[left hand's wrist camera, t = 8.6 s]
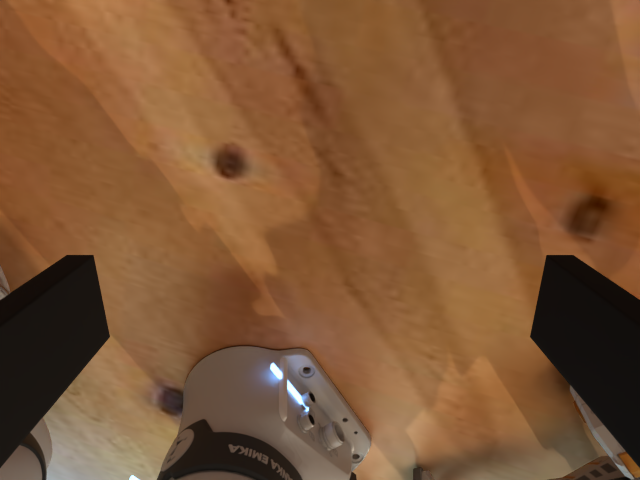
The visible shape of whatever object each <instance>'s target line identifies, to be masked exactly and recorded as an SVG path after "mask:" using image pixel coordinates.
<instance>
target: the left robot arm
mask: <svg viewBox="0 0 640 480" xmlns="http://www.w3.org/2000/svg"><path fill="white" fill-rule="evenodd" d="M109 337H110V335H109V330H108V325H107V320H106V315H105V310H104V305H103V301H102V296H101V291H100V286H99V281H98V276H97V271H96V266H95V261H94V256H93V255H66V256H65V257H63V258H62V259H60V260H59V261H57V262H56V263H55V264H53V265H52V266H50V267H49V268H47V269H46V270H44V271H43V272H41V273H40V274H38V275H37V276H35V277H34V278H32V279H31V280H29V281H28V282H26V283H25V284H23V285H22V286H20V287H19V288H17V289H16V290H14V291H13V292H11V293H10V294H8V295H7V296H5V297H4V298H2V299H1V300H0V468H1V467H2V466H3V464H4V463H5V462H6V461H7V460H8V458H9V457H10V456H11V455H12V454H13V452H14V451H15V450H16V449H17V448H18V446H19V445H20V444H21V443H22V442H23V440H24V439H25V438H26V437H27V436H28V434H29V433H30V432H31V431H32V430H33V428H34V427H35V426H36V425H37V424H38V422H39V421H40V420H41V419H42V418H43V416H44V415H45V414H46V413H47V412H48V410H49V409H50V408H51V407H52V406H53V404H54V403H55V402H56V401H57V400H58V398H59V397H60V396H61V395H62V394H63V392H64V391H65V390H66V389H67V388H68V386H69V385H70V384H71V383H72V382H73V380H74V379H75V378H76V377H77V376H78V374H79V373H80V372H81V371H82V370H83V368H84V367H85V366H86V365H87V364H88V362H89V361H90V360H91V359H92V358H93V356H94V355H95V354H96V353H97V352H98V350H99V349H100V348H101V347H102V346H103V344H104V343H105V342H106V341H107V340H108V338H109ZM530 337H531V338H532V340H533V341H534V342H535V343H536V344H537V346H538V347H539V348H540V349H541V350H542V352H543V353H544V354H545V355H546V356H547V358H548V359H549V360H550V361H551V362H552V364H553V365H554V366H555V367H556V368H557V370H558V371H559V372H560V373H561V374H562V376H563V377H564V378H565V379H566V380H567V382H568V383H569V384H570V385H571V386H572V388H573V389H574V390H575V391H576V392H577V394H578V395H579V396H580V397H581V398H582V400H583V401H584V402H585V403H586V404H587V406H588V407H589V408H590V409H591V410H592V412H593V413H594V414H595V415H596V416H597V418H598V419H599V420H600V421H601V422H602V424H603V425H604V426H605V427H606V428H607V430H608V431H609V432H610V433H611V434H612V436H613V437H614V438H615V439H616V440H617V442H618V443H619V444H620V445H621V446H622V448H623V449H624V450H625V451H626V452H627V454H628V455H629V456H630V457H631V458H632V460H633V461H634V462H635V463H636V464H637V466H638V467H639V468H640V300H639V299H638V298H636V297H635V296H633V295H632V294H630V293H629V292H627V291H626V290H624V289H623V288H621V287H620V286H618V285H617V284H615V283H614V282H612V281H611V280H609V279H608V278H606V277H605V276H603V275H602V274H600V273H599V272H597V271H596V270H594V269H593V268H591V267H590V266H588V265H587V264H585V263H584V262H583V261H581V260H580V259H578V258H577V257H575V256H574V255H547V256H546V261H545V266H544V271H543V276H542V281H541V286H540V291H539V296H538V301H537V305H536V310H535V315H534V320H533V325H532V330H531V335H530Z"/></svg>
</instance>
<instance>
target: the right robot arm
mask: <svg viewBox="0 0 640 480" xmlns="http://www.w3.org/2000/svg"><path fill="white" fill-rule="evenodd" d="M8 294H10V288H9V285H8V282H7V279H6V277H5V274H4V272H3V270H2V268H1V265H0V300H1V299H2V298H4V297H5V296H7V295H8ZM304 367H309V368H310V369H304ZM183 398H184V401H183V412H182V417H181V422H180V427H179V431H178V435H177V437H176V439H175V440H174V442H173V444H172V445H171V447H170V449H169V451H168V453H167V455H166V457H165V459H164V461H163V464H162V467H161V471H160V473H159V476H158V478H157V480H356V474H354V473H353V472H352V471H353V470H354V469H355V468H356V467H357V466H358V465H359V464H360V463H361V462H362V461H363V460H364V458H365V457H366V455H367V453H368V451H369V449H370V446H371V436H370V434H369V432H368V431H367V430H366V428H365V427H364V425H363V424H362V423H361V421H360V420H359V419H358V417H357V416H356V414H355V413H354V412H353V410H352V409H351V408H350V406H349V405H348V403H347V402H346V401H345V399H344V398H343V396H342V395H341V394H340V392H339V391H338V390H337V388H336V387H335V385H334V384H333V383H332V381H331V380H330V379H329V377H328V376H327V374H326V373H325V372H324V370H323V369H322V367H321V366H320V365H319V363H318V362H317V361H316V359H315V358H314V356H313V355H312V354H311V353H310V352H309V351H308V350H306V349H301V348H296V349H287V350H281V351H277V350H270V349H265V348H260V347H253V346H237V347H230V348H226V349H222V350H219V351H216V352H214V353H212V354H210V355H208V356H207V357H205V358H204V359H202V360H201V361H200V362H199V363H198V364H197V365H196V366H195V367H194V368H193V369H192V370H191V372H190V374H189V375H188V377H187V380H186V382H185V386H184V393H183ZM51 457H52V442H51V437H50V433H49V430H48V428H47V425H46V423H45V421H44V419H43V418H42V419H41V420H40V421H39V422H38V424H37V425H36V426H35V427H34V428H33V430H32V431H31V432H30V433H29V434H28V436H27V437H26V438H25V439H24V440H23V442H22V443H21V444H20V445H19V446H18V448H17V449H16V450H15V451H14V452H13V454H12V455H11V456H10V457H9V458H8V460H7V461H6V462H5V463H4V464H3V466H2V467H1V468H0V480H46V473H47V472H46V469H47V468H48V466H49V463H50V461H51ZM129 480H139V479H137V478H136V477H134V476H133V475H132V476H131V477H130V479H129Z"/></svg>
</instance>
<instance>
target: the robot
mask: <svg viewBox="0 0 640 480" xmlns="http://www.w3.org/2000/svg"><path fill="white" fill-rule="evenodd" d="M570 392H571V394H572V396H573V398H574V402H573V403H574V405H575V407H576V409H577V412H578V413H579V415H580V416H581V418H582V419H583V421H584V422H585V423H587V425H588V427H589V429H590V431H591V433H592V435H593V436H594V437H595V438H596V440H597V441H598V442H599V444H600V445H601V446H602V447H603V449H604V450H605V451H606V453H607V454H608V455H609V456H601V457H599V458H597V459H595V460H593V461H592V462H590V463H588V464H586V465H584V466H583V467H581V468H579V469H577V470H575V471H574V472H572V473H570V474H568V475H566V476H565V477H563V478H556V479H549V480H640V468H639V467H638V466H637V464H636V463H635V462H634V461H633V460H632V458H631V457H630V456H629V455H628V454H627V452H626V451H625V450H624V449H623V448H622V446H621V445H620V444H619V443H618V442H617V440H616V439H615V438H614V437H613V436H612V434H611V433H610V432H609V431H608V430H607V428H606V427H605V426H604V425H603V424H602V422H601V421H600V420H599V419H598V418H597V416H596V415H595V414H594V413H593V412H592V410H591V409H590V408H589V407H588V406H587V404H586V403H585V402H584V401H583V400H582V398H581V397H580V396H579V395H578V394H577V392H576V391H575V390H574V389H573V388H572V386H571V385H570ZM413 480H434V478H433V477H432V475H431V473H430V470H426V471H423V469H422V468H414V469H413Z"/></svg>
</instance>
